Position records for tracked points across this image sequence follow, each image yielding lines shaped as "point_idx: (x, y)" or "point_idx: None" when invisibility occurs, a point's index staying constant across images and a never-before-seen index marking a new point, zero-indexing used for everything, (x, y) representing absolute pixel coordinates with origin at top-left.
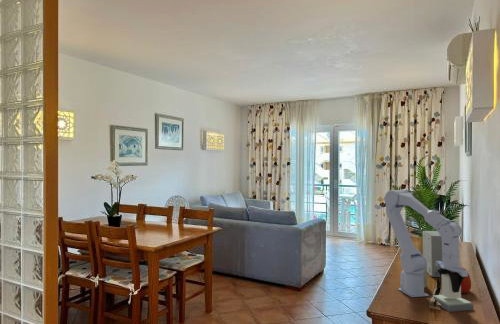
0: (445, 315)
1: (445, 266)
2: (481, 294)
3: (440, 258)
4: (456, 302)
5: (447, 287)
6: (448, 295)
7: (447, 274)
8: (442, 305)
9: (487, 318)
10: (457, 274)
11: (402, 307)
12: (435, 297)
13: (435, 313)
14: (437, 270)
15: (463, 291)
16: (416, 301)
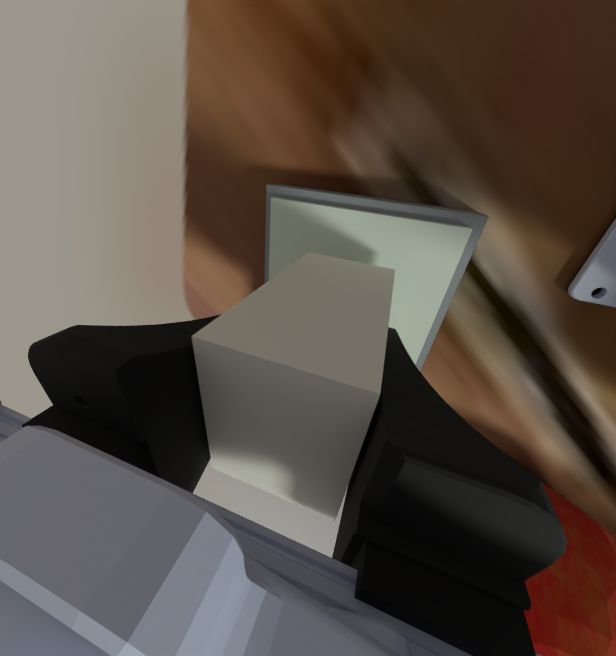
0: (241, 94)
1: (6, 607)
2: None
3: None
4: None
5: (295, 282)
6: (309, 258)
7: (328, 451)
8: (342, 194)
9: (191, 297)
10: (56, 415)
11: None
12: (435, 222)
13: (283, 28)
14: (534, 483)
15: None
16: (585, 46)
